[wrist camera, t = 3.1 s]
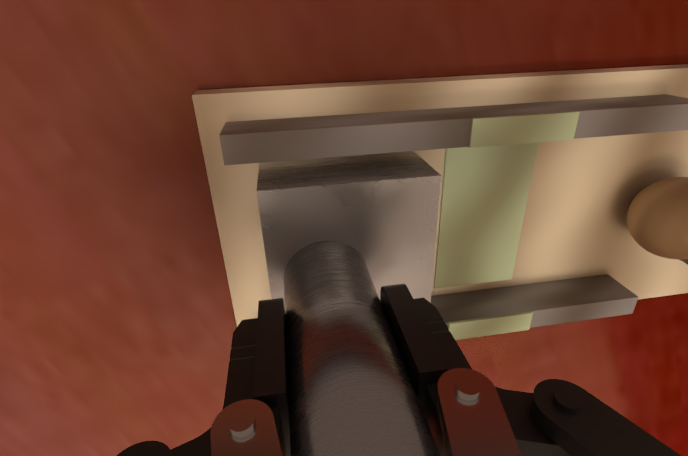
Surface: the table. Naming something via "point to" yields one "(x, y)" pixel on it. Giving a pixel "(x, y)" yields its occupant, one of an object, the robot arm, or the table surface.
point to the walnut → (661, 218)
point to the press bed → (477, 181)
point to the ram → (349, 295)
